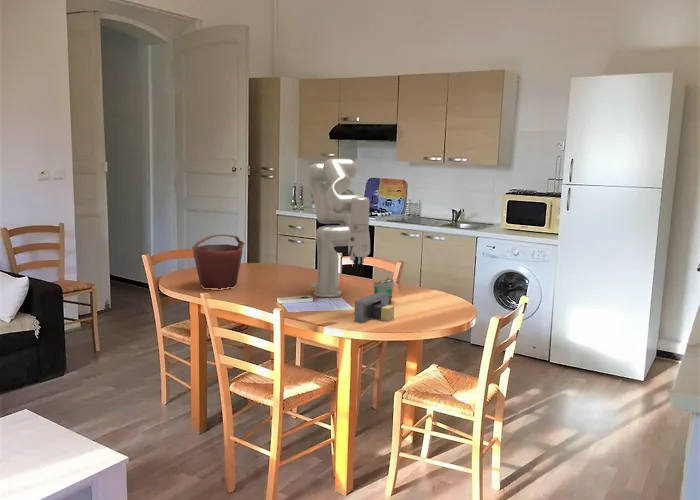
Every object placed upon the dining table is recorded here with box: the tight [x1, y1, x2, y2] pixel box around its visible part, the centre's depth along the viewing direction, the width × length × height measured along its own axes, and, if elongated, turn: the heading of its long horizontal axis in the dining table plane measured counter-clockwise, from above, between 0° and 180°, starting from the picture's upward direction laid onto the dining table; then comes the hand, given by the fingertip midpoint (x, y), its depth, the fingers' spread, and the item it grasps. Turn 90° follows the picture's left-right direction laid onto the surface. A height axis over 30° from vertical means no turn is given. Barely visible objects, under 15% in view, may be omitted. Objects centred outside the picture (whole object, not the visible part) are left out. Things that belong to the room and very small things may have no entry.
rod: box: [371, 303, 395, 322], centre depth 247 cm, size 14×5×5 cm, turn 57°
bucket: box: [191, 233, 245, 289], centre depth 291 cm, size 24×22×25 cm
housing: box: [354, 292, 390, 323], centre depth 247 cm, size 4×20×8 cm, turn 147°
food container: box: [372, 277, 395, 305], centre depth 269 cm, size 12×6×10 cm, turn 148°
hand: (358, 273), depth 249 cm, fingers closed
